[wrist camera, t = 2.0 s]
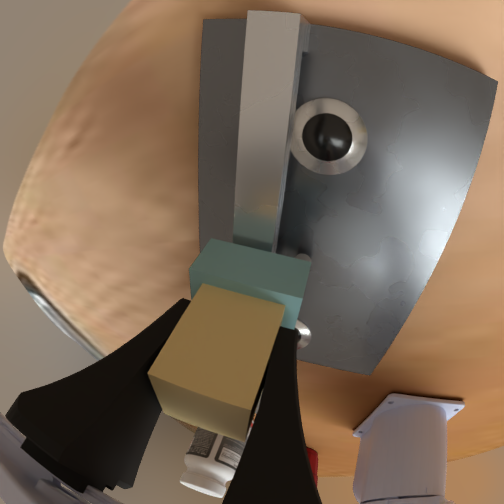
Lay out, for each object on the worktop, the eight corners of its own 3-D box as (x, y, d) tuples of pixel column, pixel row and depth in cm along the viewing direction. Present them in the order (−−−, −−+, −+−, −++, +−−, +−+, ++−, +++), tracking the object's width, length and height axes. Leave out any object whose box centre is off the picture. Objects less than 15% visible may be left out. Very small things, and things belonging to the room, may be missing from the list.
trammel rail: (285, 356, 20) (266, 419, 16) (229, 341, 21) (202, 399, 17) (353, 31, 9) (357, 9, 5) (248, 18, 9) (188, 0, 5)
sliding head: (303, 292, 16) (257, 449, 9) (230, 273, 17) (154, 413, 10) (319, 227, 13) (271, 407, 7) (233, 208, 14) (128, 357, 8)
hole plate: (370, 363, 20) (369, 376, 19) (209, 323, 22) (203, 334, 21) (488, 79, 8) (499, 81, 7) (213, 21, 10) (201, 19, 10)
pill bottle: (209, 416, 34) (178, 484, 26) (205, 396, 30) (168, 475, 22) (254, 429, 32) (228, 501, 25) (256, 412, 29) (226, 495, 21)
